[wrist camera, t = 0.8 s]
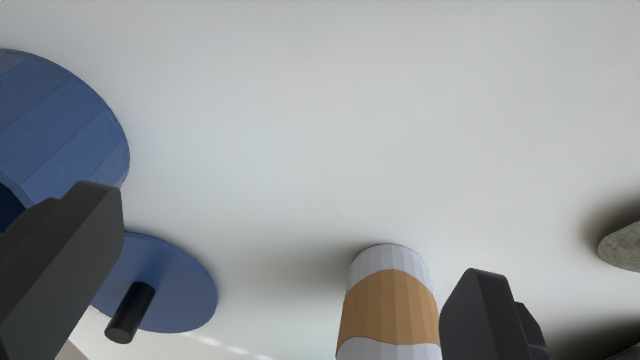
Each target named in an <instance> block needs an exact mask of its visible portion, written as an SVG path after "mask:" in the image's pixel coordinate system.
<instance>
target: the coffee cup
mask: <svg viewBox="0 0 640 360" xmlns="http://www.w3.org/2000/svg"><path fill="white" fill-rule="evenodd" d="M438 326H439V314H438V310H437V305H436V302H435V299H434V296H433V292H432V287H431V282H430V278H429V273H428V269H427V267H426V264H425V263H424V262H423V261H422V259H421V258H420V257H419V256H418V255H417V254H416V253H415V252H414V251H412V250H411V249H409V248H406V247H403V246H401V245H395V244H380V245H375V246H372V247H369V248H367V249H365V250H364V251H362V252H361V253H360V254H359V255H358V256H357V257H356V258H355V260H354V261H353V263H352V264H351V266H350V270H349V276H348V283H347V290H346V295H345V299H344V303H343V310H342V316H341V323H340V329H339V336H338V342H337V349H336V355H335V356H336V360H442V354H441V347H440V340H439V331H438Z"/></svg>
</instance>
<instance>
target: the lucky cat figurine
mask: <svg viewBox="0 0 640 360" xmlns="http://www.w3.org/2000/svg"><path fill="white" fill-rule="evenodd" d="M605 360H640V342H639V343H638V344H636V345H634V346H632V347H631V348H629V349H627V350H625V351H623V352H620V353H618V354H616V355H614V356H612V357H610V358H608V359H605Z"/></svg>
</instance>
